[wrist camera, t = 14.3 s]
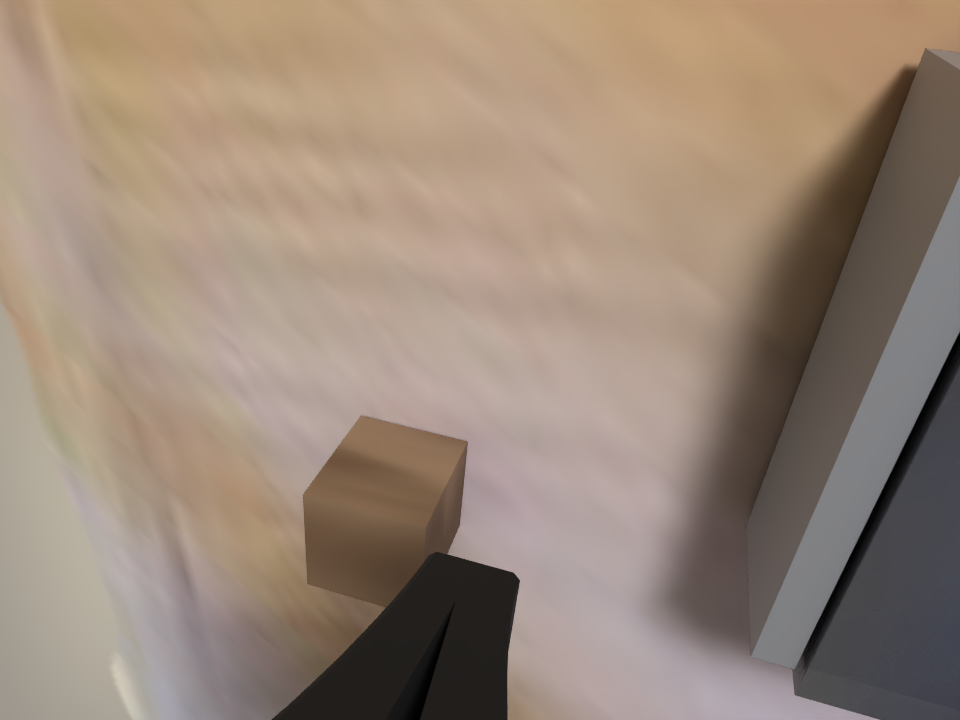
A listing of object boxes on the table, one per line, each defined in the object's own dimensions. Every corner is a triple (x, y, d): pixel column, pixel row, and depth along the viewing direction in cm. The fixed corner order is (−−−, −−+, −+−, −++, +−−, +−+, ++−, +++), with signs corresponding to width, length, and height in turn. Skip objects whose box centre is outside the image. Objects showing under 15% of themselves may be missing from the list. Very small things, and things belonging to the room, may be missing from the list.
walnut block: (459, 525, 25) (419, 616, 22) (360, 499, 26) (307, 583, 23) (467, 441, 23) (425, 527, 20) (360, 415, 24) (302, 494, 21)
